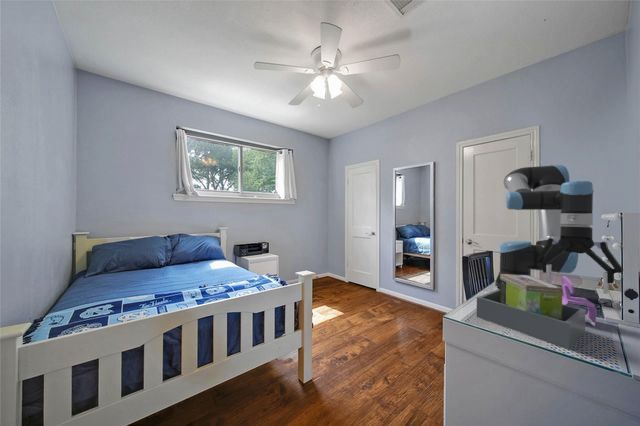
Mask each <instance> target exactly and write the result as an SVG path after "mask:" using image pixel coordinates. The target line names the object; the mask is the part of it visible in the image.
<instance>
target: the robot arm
mask: <svg viewBox="0 0 640 426" xmlns="http://www.w3.org/2000/svg"><path fill="white" fill-rule="evenodd" d="M503 186H504V188H505V189H506V190H508V192H507V193H506V194H505V195H506V196H505V207H506V208H507V209H508V210H516V211H520V210H522V211H528V210H529V211H530V210H533V211H534V210H536V211H537V214H538V229H539V239H538V240H536V241H535V244H532V242H531V241H526V240H525V241H523V240H519V241H517V240H515V241H513V240H511V241H505V242H502V243H501V244H500V247H499V248H500V249H499V253H500V254H499V255H500V256H499V272H498V275H497V276H496V279H495V283H494V286H495V287H496V286H497V287H499V288H500V274H511V275H527V276H532V275H531V274H532V273H531V271H532V270H534V271H542V273H544V274H545V282H548V283H552V273H558V274H560V273H561V274H571V273H573V272H574V271H575V269H576V268H577V265H578V261H579V254H586V255H587V256H588V257H590V258H591V259H592V260H593V261H594V262H595V263H597V264H598V265H599V266H600V267H601V268H602V269H603V270H605V271H604V272H603V275H602V276H603V288H602V289H603V290H602V293H603V294H608V293H610V292H609V291H610V289H609V286H610V284H614V282H615V274H618V273H620V274H621V273H623V272H624V268H623V267H622V266H621V264H620V263H619V262H618V260H617V258H616V257H615V256H614V255H613V254H612V252H611V251H610V249H609V246H608V242H607V241H594V240H593V228H592V227H591V226H593V220H594V219H593V218H594V215H593V208H594V207H593V204H594V201H593V200H594V188H593V187H594V186H593V182H591V181H590V180H575V181H570V173H569V170H568V168H567V167H566V166H565V165H562V164H555V165H554V164H551V165H544V166H543V165H541V166H525V167H519V168H516V169H515V170H514V169H513V171H511V172H509V173H508V174H507V175H505V177H504V179H503ZM595 246H596V247H597V248H598V249H600V250H601V251H602V253H603V255H604V256H605V258H606V259H607V260H608V261H609V263H610V264H611V265H609V264H608V263H607V262H606V261H605V260H603V259H602V258H601V257H600V256H598V255H597V254H596V253H595V252H594V250H592V248H593V247H595ZM611 266H612V267H611ZM497 287H496V288H497ZM499 288H498V289H499Z"/></svg>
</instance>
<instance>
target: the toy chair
mask: <svg viewBox="0 0 640 426" xmlns="http://www.w3.org/2000/svg"><path fill="white" fill-rule="evenodd" d="M560 278H561V288H562V304H564V305H568V306H569V305H580V306H585V307H587V314H586V316H587V317H589V318H590V319H591V320H592V321H593V322H594V323H597V312H598V311H597V308H596V306H595V305H596V304H595V303H593V302H591V301H589V300H588V299H587V298H586V297H577V296H571V295H572V294H575V293H576V292H575V286H574V284H573V281H571V280H570V279H569V278H568V277H567V276H565V275H561V277H560Z"/></svg>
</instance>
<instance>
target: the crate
mask: <svg viewBox="0 0 640 426" xmlns="http://www.w3.org/2000/svg"><path fill="white" fill-rule="evenodd" d="M478 317H479V319H481V320H484V321H487V322H489V323H493V324H496V325H499V326H501V327H504V328H507V329H510V330H513V331H516V332H518V333H522V334H524V335H527V336H530V337H532V338H535V339H539V340H541V341H544V342H547V343H549V344H553V345H555V346H557V347H561V348H564V349H566V350H570V349H571V348H572V347H573V346H574V344H576V343H577V341H578V340H580V338H581V337H582V336H584V334H585V333H586V320H585V317H586V309H583V308H580V307H574V306H571V305H569V304H568V305H564V304H562V320H558V319H555V318H551V317H548V316H544V315H541V314H537V313H533V312H530V311H525V310H523V309H519V308H516V307H512V306H509V305H505V304H502V303H500V289H499V288H497V289H495V290H493V291H490V292H487V293H485V294H482V295H479V296H477V297H476V318H478Z"/></svg>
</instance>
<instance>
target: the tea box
mask: <svg viewBox="0 0 640 426" xmlns="http://www.w3.org/2000/svg"><path fill="white" fill-rule="evenodd" d="M562 295H563V291H562V286H559V285H557V284H553V283H552V282H550V283H548V282H546V280H542V279H540V278H537V277H535V276H532V275H531V276H527V275H511V274H500V303H502V304H505V305H509V306H512V307H516V308H519V309H523V310H525V311H530V312H533V313H537V314H541V315H544V316H548V317H551V318H555V319H558V320H562Z"/></svg>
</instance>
